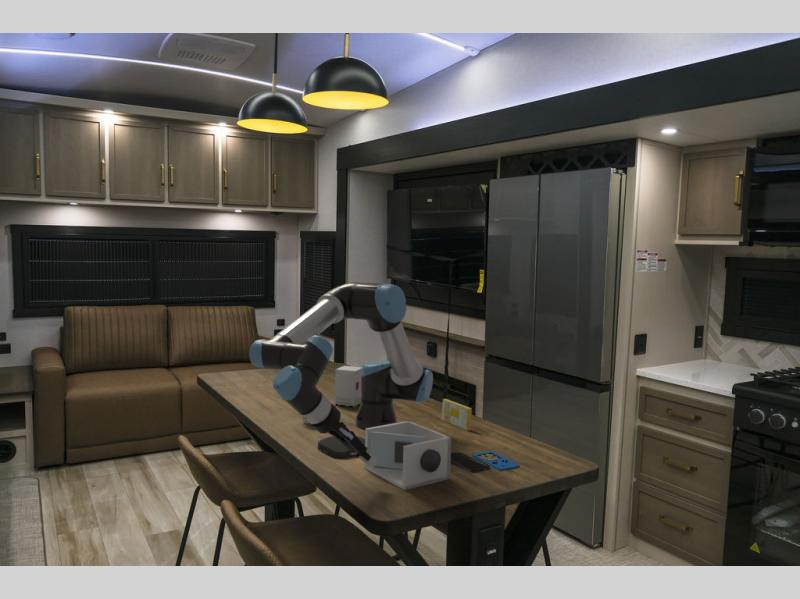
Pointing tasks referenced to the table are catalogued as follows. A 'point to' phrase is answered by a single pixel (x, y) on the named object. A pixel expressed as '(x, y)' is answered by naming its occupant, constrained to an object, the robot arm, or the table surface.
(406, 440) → the side door
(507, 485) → the table surface
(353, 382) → the supplement box
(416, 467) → the open box
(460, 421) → the candy box
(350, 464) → the table surface
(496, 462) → the handheld gaming device
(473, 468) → the phone
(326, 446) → the media streaming box
